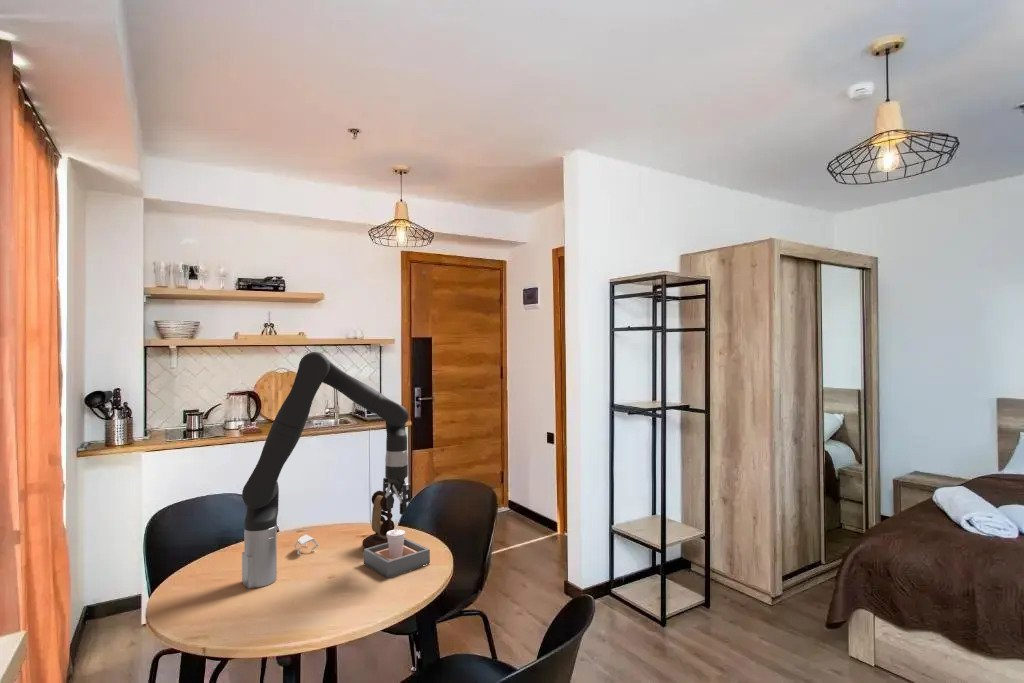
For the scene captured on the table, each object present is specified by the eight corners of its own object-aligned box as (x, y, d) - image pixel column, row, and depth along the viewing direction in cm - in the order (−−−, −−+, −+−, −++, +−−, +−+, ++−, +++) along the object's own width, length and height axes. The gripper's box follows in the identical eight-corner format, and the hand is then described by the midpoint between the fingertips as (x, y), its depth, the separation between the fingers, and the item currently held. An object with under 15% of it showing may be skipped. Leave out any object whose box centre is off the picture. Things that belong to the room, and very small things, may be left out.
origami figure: (321, 554, 188) (321, 540, 188) (295, 559, 184) (295, 545, 184) (316, 544, 199) (316, 531, 199) (292, 548, 195) (292, 534, 195)
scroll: (355, 546, 196) (355, 492, 196) (390, 536, 206) (390, 485, 206) (374, 557, 185) (374, 500, 185) (410, 546, 195) (410, 492, 195)
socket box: (387, 578, 167) (387, 562, 167) (363, 564, 179) (363, 549, 179) (429, 564, 178) (429, 549, 178) (404, 551, 190) (404, 537, 190)
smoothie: (407, 557, 182) (406, 516, 182) (403, 564, 176) (403, 522, 176) (388, 557, 182) (388, 516, 182) (384, 565, 175) (384, 522, 176)
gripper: (376, 461, 182) (376, 509, 182) (398, 468, 172) (397, 518, 171) (395, 458, 187) (395, 504, 187) (417, 465, 177) (417, 513, 176)
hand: (396, 511), depth 179 cm, fingers open, 8 cm apart
